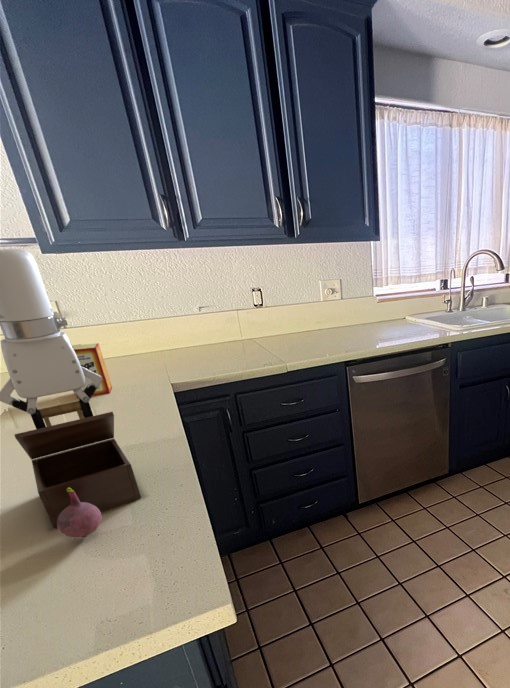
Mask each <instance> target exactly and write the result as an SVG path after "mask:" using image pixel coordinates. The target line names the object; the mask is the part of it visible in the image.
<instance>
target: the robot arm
mask: <svg viewBox="0 0 510 688" xmlns="http://www.w3.org/2000/svg"><path fill="white" fill-rule="evenodd" d="M66 326H67V327H68V326H69V325H68V321H67V319H66V317H58V316H55V313H54V311H53V307H52V305H51V302H50V299H49V296H48V294H47V290H46V287H45V284H44V282H43V277H42V276H41V273H40V269H39V266H38V264H37V262H36V259H35V257H34V255H33V254H32V253H31V252H29V251H27V250H25V249H18V248H5V249H4V248H3V249H1V248H0V329H1V332H2V335H3V339H0V348H1V354H2V357H3V360H4V364H5V367H6V369H7V372H8V375H9V378H8V380H7V381H6V383H5V384H4V385H3V387H2V388H1V389H0V402H1V403H3V404H6V405H9V406H12V408H13V407H14V408H15V409H18V410H20V411H23V412H25V413H27V414H28V415H30V417H31V419H32V422H33V425H34V427H35V429H40V428H44V427H47V426H46V423H45V421H44V419H43V418H42V416H41V413H40V411H39V409H40V408H38V405H37V404H38V398H42V397H47V396H51V395H56V394H57V395H58V394H62V393H66V392H71V391H72V392H73V393H74V394H75V396H76V395H77V396H78V397H79V398H78V401H79V403H80V405H81V408H82V410H81V411H82V413H83V416H84V418H87V417H91V416H94V413H93V411H92V407H91V405H90V401H91V398H92V397H93V396H92V395H93V394H94V392H95V391H96V389H97V387H98V386H99V385H100V383H101V382H102V380H103V378H102V377H101V376H100V375H98V374H96V373H94V372H92V371H90V370H88V369H86V368H84V367H82V366H81V365H80V363H79V360H78V358H77V356H76V353H75V351H74V349H73V347H72V342H71V341H70V339H69V337H68V335H67V333H66V332H65V331H61V330H60V329H62V328H63V327H66ZM85 376H86V377H88V378H90V379H91V382H90V384H89V385H87V387H86V388H85V390H84V391H83V389H82V387H83V386H85V384H86V380H85ZM14 390H15V392H16V394H17V396H18V397H20V398H21V399H19V398H16V397H14V396H12V395H11V394H12V393H13V392H14ZM77 396H76V397H77ZM22 399H25V400H26V401H24V400H22Z"/></svg>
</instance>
